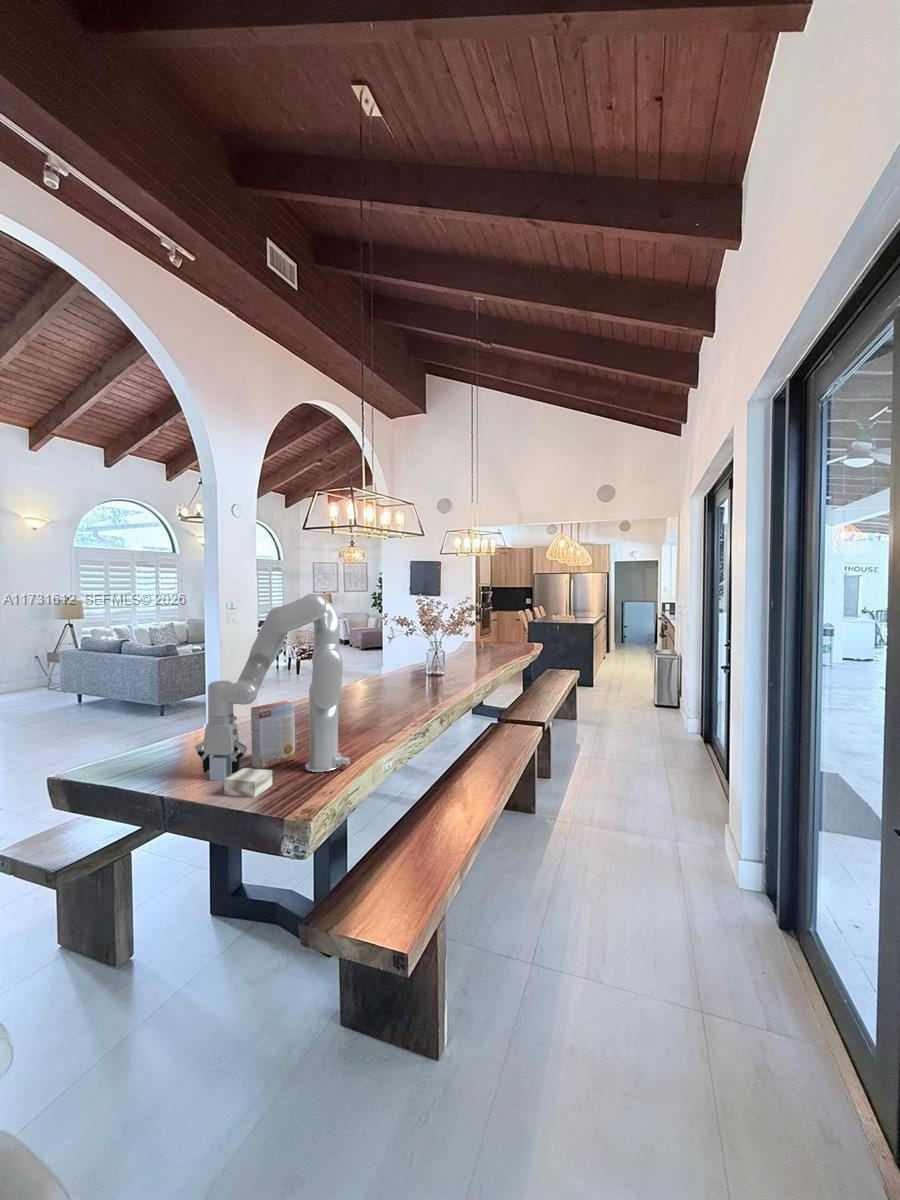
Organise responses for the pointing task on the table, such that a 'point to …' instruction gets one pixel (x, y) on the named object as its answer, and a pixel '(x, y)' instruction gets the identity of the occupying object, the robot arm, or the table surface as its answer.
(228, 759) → the blue-grey block
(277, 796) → the table surface
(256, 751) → the cracker box
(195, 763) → the table surface
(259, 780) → the ash base block
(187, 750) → the table surface
